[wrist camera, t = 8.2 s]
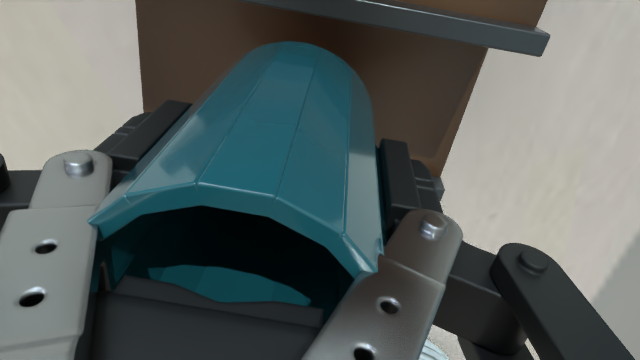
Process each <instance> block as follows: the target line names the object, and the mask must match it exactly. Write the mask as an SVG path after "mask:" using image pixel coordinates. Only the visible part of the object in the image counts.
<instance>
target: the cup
mask: <svg viewBox="0 0 640 360" xmlns="http://www.w3.org/2000/svg"><path fill="white" fill-rule="evenodd" d="M87 222H88V223H91V224H97V225H98V226H99V232H100V238H101V242H103V243H105V244H108V245H111V253H112V260H113V266H114V273H115V279H116V286H117V285H118V284H119V282H120V281H121V279H122V278H123V276H124V275H128V276H134V277H139V278H145V279H151V280H157V281H163V282H169V283H174V284H176V285H179V286H181V287H184V288H186V289H189V290H191V291H193V292H196V293H198V294H201V295H203V296H206V297H208V298H210V299H213V300H215V301H218V302H226V303H227V302H254V301H280V302H286V303H291V304H297V305H303V306H309V307H315V308H321V309H324V313H323V324H322V325H325V323H326V322H327V320H328V319H329V317H330V316H331V314H332V313H333V311H334V310H335V308H336V307H337V305H338V304H339V302H340V301H341V299H342V298H343V296H344V295H345V294H346V292H347V291H348V289H349V288H350V286H351V285H352V283H353V282H354V280H355V279H356V277H357V276H358V274H359V273H360V271H361V270H363V271H369V272H377V271H378V262H377V258H378V255H379V254H382V255H384V256H386V254H385V246H386V244H387V233H386V223H385V212H384V202H383V191H382V181H381V171H380V160H379V150H378V139H377V129H376V124H375V118H374V110H373V105H372V101H371V98H370V95H369V93H368V91H367V88H366V87H365V85H364V83H363V82H362V80H361V78H360V77H359V76H358V75H357V73H356V72H355V71H354V70H353V69H352V68H351V67H350V66H349V65H348V64H347V63H346V62H345V61H343V60H342V59H341V58H339V57H338V56H337V55H335V54H333V53H331V52H330V51H328V50H326V49H323V48H321V47H318V46H316V45H312V44H308V43H304V42H295V41H281V42H275V43H269V44H266V45H262V46H259V47H257V48H255V49H253V50H251V51H249V52H247V53H246V54H244V55H243V56H241V57H240V58H239V59H238V60H236V61H235V62H234V63H233V64H232V65H231V66H230V67H229V68H227V69H226V70H225V71H224V72H223V73H222V74H221V75H220V76H219V77H218V78H217V79H216V80H215V81H214V82H213V83H212V84H211V86H210V87H209V88H208V89H207V90H206V91H205V92H204V93H203V94H202V95H201V96H200V97H199V98H198V99H197V100H196V102H195V103H194V104H193V105H192V106H191V107H190V108H189V109H188V110H187V111H186V112H185V113H184V114H183V115H182V117H181V118H180V119H179V120H178V121H177V122H176V123H175V124H174V125H173V126H172V127H171V128H170V129H169V130H168V132H167V133H166V134H165V135H164V136H163V137H162V138H161V139H160V140H159V141H158V142H157V143H156V144H155V145H154V147H153V148H152V149H151V150H150V151H149V152H148V153H147V154H146V155H145V156H144V157H143V158H142V159H141V160H140V162H139V163H138V164H137V165H136V166H135V167H134V168H133V169H132V170H131V171H130V172H129V173H128V174H127V175H126V176H125V178H124V179H123V180H122V181H121V182H120V183H119V184H118V185H117V186H116V187H115V188H114V189H113V190H112V191H111V193H110V194H109V195H108V196H107V197H106V198H105V199H104V200H103V201H102V202H101V203H100V206H99V207H98V209H97V210H96V211H95V212H94V213H93V214H92V215H91V216H90V217H89V218H88V219H87Z"/></svg>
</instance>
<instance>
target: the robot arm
mask: <svg viewBox="0 0 640 360" xmlns="http://www.w3.org/2000/svg"><path fill="white" fill-rule="evenodd" d="M192 105H193V104H192V103H186V102H180V101H175V100H169V99H167V100H165V101H164V102H163V103H162V104H161V105H160V106H159V107H158V108H157V109H155V110H154V111H153V112H152V113H151V112H145V113H143V114H140V115H137V116H135V117H132V118H131V119H130V120H128V121H127V122H126V123H125V124H124V125H123V127H120V128H119V129H118V130H117V131H115V134H112V135H111V136H109V137H108V138H107V139H106V140H105V141H103V142H102V143H101V144H100V145H99V146H97V147H96V148H95V149H94V150H75V151H69V152H65V153H61V154H59V155H56V156H54V157H52V158H50V159H49V160H48V161H47V162H46V163H45V164H44V166H43V169H42V170H18V171H8V170H7V167H6V163H5V160H4V157H3V156H2V155H1V154H0V360H419V358H420V355H421V352H422V350H423V347H424V344H425V342H426V339H427V336H428V334H429V331H430V328H431V326H432V324H433V325H435V326H437V327H440V328H442V329H444V330H446V331H448V332H451V333H453V334H455V335H457V337H458V341H459V344H460V346H461V349H462V351H463V353H464V356H465V358H466V360H534V358H533V357H532V355H531V353H530V352H529V350H528V348H527V346H526V345H525V341H526V340H527V338H528V339H529V341H530V342H531V344H532V346H533V347H534V349H535V351H536V352H537V354H538V356H539V358H540V360H635V359H634V358H633V356H632V355H631V354H630V352H629V351H628V350H627V349H626V348H625V346H624V345H623V344H622V343H621V341H620V340H619V339H618V338H617V336H616V335H615V334H614V333H613V331H612V330H611V329H610V328H609V326H608V325H607V324H606V323H605V322H604V320H603V319H602V318H601V317H600V315H599V314H598V313H597V312H596V310H595V309H594V308H593V307H592V305H591V304H590V303H589V302H588V300H587V299H586V298H585V297H584V295H583V294H582V293H581V292H580V291H579V289H578V288H577V287H576V286H575V284H574V283H573V282H572V281H571V279H570V278H569V277H568V276H567V274H566V273H565V272H564V271H563V269H562V268H561V267H560V266H559V265H558V264H557V262H555V261H554V260H553V259H552V258H551V257H549V256H548V255H547V254H545V253H543V252H542V251H540V250H538V249H536V248H533V247H531V246H528V245H524V244H519V243H509V244H505V245H503V246H502V247H501V248H500V250H499V252H498V254H497V255H494V254H492V253H489V252H487V251H484V250H481V249H479V248H476V247H474V246H472V245H470V244H468V243H466V242H464V241H463V240H462V239H463V233H462V230H461V228H460V227H459V226H458V224H457V223H456V222H455V221H453V220H452V219H451V218H449V217H448V216H446V215H444V214H443V211H442V208H441V205H440V201H439V198H438V195H437V191H436V188H435V185H434V183H433V178H432V175H431V171H430V170H429V169H428V168H427V167H426V166H425V165H424V164H423V163H422V162H421V161H419V160H413V159H411V158H410V154H409V150H408V145H407V142H402V141H397V140H391V139H385V138H382V139H381V142H380V145H379V148H378V150H379V160H380V171H381V181H382V191H383V202H384V212H385V223H386V233H387V244H386V246H385V254H386V256H384V255H382V254H379V255H378V258H377V262H378V271H377V272H369V271H363V270H361V271H360V273H359V274H358V276H357V277H356V279H355V280H354V282H353V283H352V285H351V286H350V288H349V289H348V291H347V292H346V294H345V295H344V296H343V298H342V299H341V301H340V302H339V304H338V305H337V307H336V308H335V310H334V311H333V313H332V314H331V316H330V317H329V319H328V320H327V322H326V323H325V325H322V324H323V313H324V309H321V308H315V307H309V306H303V305H297V304H291V303H286V302H280V301H254V302H227V303H226V302H218V301H215V300H213V299H210V298H208V297H206V296H203V295H201V294H198V293H196V292H193V291H191V290H189V289H186V288H184V287H181V286H179V285H176V284H174V283H169V282H163V281H157V280H151V279H145V278H139V277H134V276H128V275H124V276H123V278H122V279H121V281H120V282H119V284H118V285H117V286H116V279H115V273H114V266H113V260H112V253H111V245H108V244H105V243H103V242H101V238H100V232H99V226H98V225H97V224H91V223H88V222H87V219H88V218H89V217H90V216H91V215H92V214H93V213H94V212H95V211H96V210H97V209H98V207H99V206H100V203H101V202H102V201H103V200H104V199H105V198H106V197H107V196H108V195H109V194H110V193H111V191H112V190H113V189H114V188H115V187H116V186H117V185H118V184H119V183H120V182H121V181H122V180H123V179H124V178H125V176H126V175H127V174H128V173H129V172H130V171H131V170H132V169H133V168H134V167H135V166H136V165H137V164H138V163H139V162H140V160H141V159H142V158H143V157H144V156H145V155H146V154H147V153H148V152H149V151H150V150H151V149H152V148H153V147H154V145H155V144H156V143H157V142H158V141H159V140H160V139H161V138H162V137H163V136H164V135H165V134H166V133H167V132H168V130H169V129H170V128H171V127H172V126H173V125H174V124H175V123H176V122H177V121H178V120H179V119H180V118H181V117H182V115H183V114H184V113H185V112H186V111H187V110H188V109H189V108H190V107H191V106H192Z"/></svg>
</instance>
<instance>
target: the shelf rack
mask: <svg viewBox="0 0 640 360" xmlns="http://www.w3.org/2000/svg"><path fill="white" fill-rule="evenodd" d="M135 2H136V15H137V29H138V42H139V56H140V69H141V83H142V96H143V110H144V113H145V112H151V113H152V112H153V111H154V110H155V109H157V108H158V107H159V106H160V105H161V104H162V103H163V102H164V101H165V100H167V99H169V100H175V101H180V102H186V103H192V104H194V103H195V102H196V100H197V99H198V98H199V97H200V96H201V95H202V94H203V93H204V92H205V91H206V90H207V89H208V88H209V87H210V86H211V84H212V83H213V82H214V81H215V80H216V79H217V78H218V77H219V76H220V75H221V74H222V73H223V72H224V71H225V70H226V69H227V68H229V67H230V66H231V65H232V64H233V63H234V62H235V61H236V60H238V59H239V58H240V57H241V56H243V55H244V54H246V53H247V52H249V51H251V50H253V49H255V48H257V47H259V46H262V45H266V44H269V43H275V42H281V41H295V42H304V43H308V44H312V45H316V46H318V47H321V48H323V49H326V50H328V51H330V52H331V53H333V54H335V55H337V56H338V57H339V58H341V59H342V60H343V61H345V62H346V63H347V64H348V65H349V66H350V67H351V68H352V69H353V70H354V71H355V72H356V73H357V75H358V76H359V77H360V78H361V80H362V82H363V83H364V85H365V87H366V88H367V91H368V93H369V95H370V98H371V101H372V105H373V110H374V118H375V124H376V129H377V139H378V148H379V145H380V142H381V139H382V138H385V139H391V140H397V141H402V142H407V145H408V150H409V154H410V158H411V159H413V160H419V161H421V162H422V163H423V164H424V165H425V166H426V167H427V168H428V169H429V170H430V171H431V175H432V178H433V183H434V185H435V188H436V191H437V195H438V198H439V201H441V199H442V196H443V193H444V191H445V189H444V186H443V183H442V180H441V178H440V176H441V173H442V171H443V168H444V165H445V163H446V160H447V157H448V155H449V152H450V149H451V147H452V144H453V141H454V139H455V136H456V133H457V131H458V128H459V125H460V123H461V120H462V117H463V115H464V112H465V109H466V107H467V104H468V101H469V99H470V96H471V93H472V91H473V88H474V85H475V83H476V80H477V77H478V75H479V72H480V69H481V67H482V64H483V61H484V59H485V56H486V53H487V51H488V48H494V49H499V50H504V51H510V52H515V53H521V54H526V55H531V56H537V57H540V56H542V54H543V52H544V50H545V47H546V45H547V43H548V41H549V38H550V35H549V34H548V33H546V32H544V31H543V30H541V29H539V28H537V27H536V26H537V24H538V21H539V19H540V16H541V14H542V12H543V9H544V7H545V5H546V2H547V0H135Z"/></svg>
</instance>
